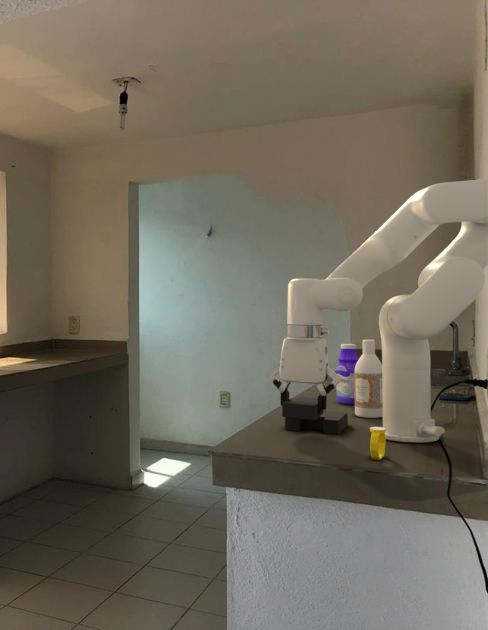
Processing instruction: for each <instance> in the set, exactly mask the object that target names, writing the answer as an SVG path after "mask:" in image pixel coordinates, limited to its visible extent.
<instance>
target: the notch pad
mask: <svg viewBox="0 0 488 630" xmlns="http://www.w3.org/2000/svg"><path fill="white" fill-rule="evenodd" d="M348 416H349V415H348V411H336V410H335V411H333V410H324V412H323V414H322V415H321V416H320V417H318V418H317V419H315V420H308V419H298V418H289V417H284V429H285V430H286V431H294V432H295V431H298V432H300V431H301V430H302V429H303V430H313V431H314V430H315V431H323V434H330V435H340V434H341V432H343V431H344V430H345V429H346V428H347V427H348V426H349V419H348V418H349V417H348Z"/></svg>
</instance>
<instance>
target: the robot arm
mask: <svg viewBox="0 0 488 630" xmlns="http://www.w3.org/2000/svg"><path fill="white" fill-rule="evenodd" d="M450 223H461V227H460V231H459V232H458V233H457V235H456V237H455V238H454V239H453V240H452V241H451V242H450V243H449V244H448V246H446V248H444V249H443V250H442V251H441V252H440V253H439V254H438V255H437V256H436V257H435V258H434V259H433V260H432V261H430V262H429V263H428V264H427V265H426V266H425V267H424V268H423V269H422V271H421V272H420V274H419V277H418V279H417V286H418V287H417V289H416V290H414V291H413V293H411V294H399V295H395V296H393V297H391V298H389V299H388V300H386V302H385V303H384V304H383V305H382V307H381V308H380V310H379V311H380V312H379V316H378V327H379V334H380V335H379V337H380V343H381V344H380V345H381V364H382V393H383V417H382V427H383V428H385V429H386V432H385V438H386V441H387V440H388V441H394V442H400V443H415V444H417V443H432V442H437V441H439V439H440V437H441V436H442V434H444V433H445V431H446V429H445V427H443V426H439V425H436V419H434V418H432V408H431V407H432V406H431V404H432V403H431V402H432V401H431V400H432V399H431V398H432V396H431V395H432V394H431V392H432V390H431V389H432V388H431V386H432V385H431V349H430V343H429V340H430V339H432V338H434V337H436V336H437V335H439V334H440V333H442V332H443V331H444V330H445V329H446V328H447V327H448V326H449V325H450V324H452V322H454V321H455V319H457V318H458V317H459V316H460V315H461V314H462V313H463V312H464V311H465V310H466V309H467V308H468V307H469V306H470V305H471V304H472V303H473V302H475V300H476V299H477V298H478V297H479V295H480V294H481V292H482V291H483V289H484V285H485V282H486V277H485V276H486V275H485V272H484V269H485V268H486V267H487V266H488V178H479V179H470V180H460V181H459V180H458V181H448V182H439V183H434V184H431V185H429V186H427V187H424V188H422V189H420V190H418V191H416V192H414V193H413V195H411V196H410V197H409V198H408V199H407V200H406V201H405V202H404V203H403V204H402V205H401V206H400V207H399V208H398V209H397V210H396V211H395V212H393V214H392V215H391V216H390V217H389V218H388V219H387V220H385V222H384V223H383V224H382V225H381V226H380V227H379V228H378V229H377V230H376V231H375V232H374V233H373V234H372V235H371V236H369V238H367V239H366V240H365V241H364V242H363V243H362V244H361V245H360V246H359V247H358V248H357V249H356V250H355V251H353V253H351V254H350V255H349V256H348V257H347V258H346V259H345V260H344V261H342V263H341V264H340V265H338V266H337V267H336V269H334V270H333V272H331V273H330V274H329V276H327V277H326V278H325V279H319V278H310V277H309V278H303V277H302V278H292V279H291V280H289V282H288V284H287V306H286V307H287V309H286V311H287V313H286V315H287V316H286V318H287V319H286V320H287V321H286V337H284V338H283V341H282V346H281V352H280V361H279V365H277V366H275V367H274V368H273V369H272V370H270V371H269V372H268V373H267V374H266V375H267V377H268V378H269V380H270V381H271V382H272V384H273V385H274V386H275V387H276V388H277V390H278V392H279V393H280V402H279V403H280V406H282V403H283V402H285V401H287V400H289V399H290V391H289V387H290V385H291V384H292V383H297V384H298V383H299V384H312V385H315V386H316V388H317V390H318V392H319V393H318V394H319V395H317V398H318V413H323V412H324V411H327V400H328V399H327V395H328V394H329V393H330V392H332V391H333V390H334V389H335V388H336V386H337V385H338V384H339V383H340V382H341V381H342V378H341V377H340V376H339V375H337V374H336V371H334V370H333V369H332V368H331V367H329V366H330V364H329V363H330V362H329V349H328V343H327V339H325V338H323V336H325V335H329V334H330V329H329V328H326V327H324V325H323V313H324V312H323V310H329V311H335V312H348V311H351V310H354V309H356V307H358V306H359V305H360V304H361V302H362V300H363V297H364V291H363V288H364V287H365V286H367V285H368V284H369V283H370V282H372V281H373V280H374V279H375V278H377V277H378V276H379V275H382V274H383V273H385V272H386V271H388V270H390V269H392V268H394V267H396V266H398V265H399V264H400V263H402V262H403V261H404V260H405V259H406V258H407V257H408V256H410V254H411V253H412V252H413V251H415V249H416V248H417V247H418V246H419V245H420V244H421V243H422V242H423V241H424V240H425V239H426V238H428V237H429V236H430V235H431V234H432V233H433V232H434V231H435V230H436V229H437V228H438V227H440V225H443V224H450ZM277 374H279V378H280V379H279V378H278V377H277ZM329 377H330V379H332V381H331V382H330V383H329V384H328V385H326V383H325V382H327V381H328V380H329Z"/></svg>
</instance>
